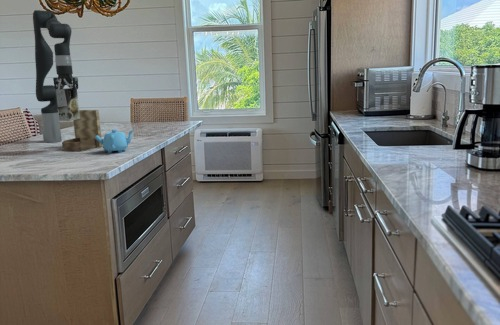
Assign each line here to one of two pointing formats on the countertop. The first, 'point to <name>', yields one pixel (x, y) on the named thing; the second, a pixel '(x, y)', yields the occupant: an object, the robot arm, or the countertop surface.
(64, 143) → the brown open box
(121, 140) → the teapot
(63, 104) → the coffee box
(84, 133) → the wall board
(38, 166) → the countertop surface
